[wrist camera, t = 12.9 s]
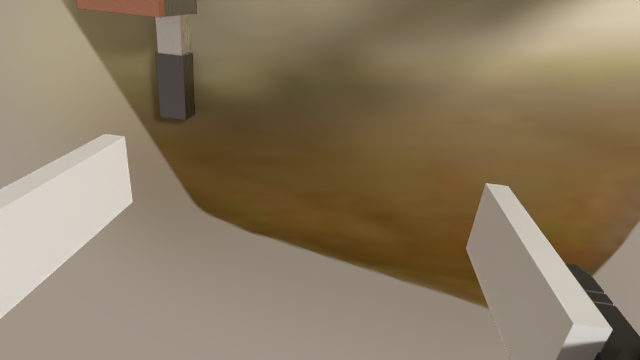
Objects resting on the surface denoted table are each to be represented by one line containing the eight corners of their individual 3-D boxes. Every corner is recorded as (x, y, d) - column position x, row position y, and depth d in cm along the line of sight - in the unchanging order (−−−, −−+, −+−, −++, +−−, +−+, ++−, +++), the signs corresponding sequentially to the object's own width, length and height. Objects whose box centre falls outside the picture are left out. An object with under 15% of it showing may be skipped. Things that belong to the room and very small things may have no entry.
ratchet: (207, 115, 48) (178, 137, 40) (158, 109, 48) (121, 129, 41) (202, -60, 40) (166, -72, 33) (144, -66, 40) (95, -79, 33)
